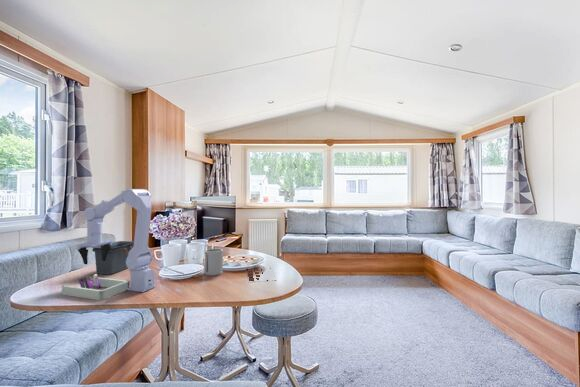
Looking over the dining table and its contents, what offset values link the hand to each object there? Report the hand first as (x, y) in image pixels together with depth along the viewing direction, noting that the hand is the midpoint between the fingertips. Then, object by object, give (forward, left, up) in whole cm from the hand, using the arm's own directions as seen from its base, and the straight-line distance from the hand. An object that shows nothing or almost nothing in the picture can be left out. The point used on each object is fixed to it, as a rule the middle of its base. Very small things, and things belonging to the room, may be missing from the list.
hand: (94, 262), depth 139 cm
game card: (-7, +9, -10) cm, 15 cm away
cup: (-43, -32, -10) cm, 55 cm away
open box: (-11, +9, -10) cm, 17 cm away
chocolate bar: (-67, -39, -10) cm, 78 cm away
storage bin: (+9, -20, -10) cm, 24 cm away
